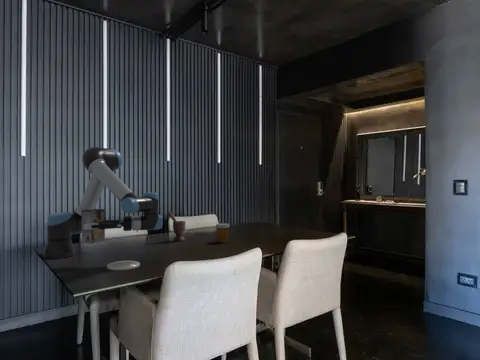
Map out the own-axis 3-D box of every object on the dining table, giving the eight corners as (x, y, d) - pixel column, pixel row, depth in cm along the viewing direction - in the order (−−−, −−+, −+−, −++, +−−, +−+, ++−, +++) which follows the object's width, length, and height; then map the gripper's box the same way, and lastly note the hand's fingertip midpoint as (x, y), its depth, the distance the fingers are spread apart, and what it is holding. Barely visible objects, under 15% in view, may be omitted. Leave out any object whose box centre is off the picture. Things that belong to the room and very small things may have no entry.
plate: (104, 271, 158) (104, 268, 158) (109, 263, 172) (109, 261, 172) (138, 269, 161) (138, 266, 161) (140, 262, 176) (140, 259, 176)
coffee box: (95, 240, 176) (95, 208, 176) (105, 241, 174) (105, 209, 174) (81, 243, 167) (81, 210, 167) (91, 244, 165) (91, 210, 165)
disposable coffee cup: (231, 240, 238) (231, 223, 238) (227, 243, 229) (227, 225, 229) (218, 240, 241) (218, 222, 241) (213, 242, 232) (213, 224, 232)
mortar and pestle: (174, 242, 231) (174, 212, 231) (166, 241, 237) (166, 211, 237) (187, 240, 239) (187, 211, 240) (180, 239, 245) (180, 210, 245)
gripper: (133, 233, 167) (83, 236, 158) (129, 227, 188) (84, 229, 179) (133, 218, 167) (83, 220, 158) (129, 213, 188) (84, 215, 179)
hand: (84, 225), depth 169 cm, fingers closed on coffee box, 10 cm apart
